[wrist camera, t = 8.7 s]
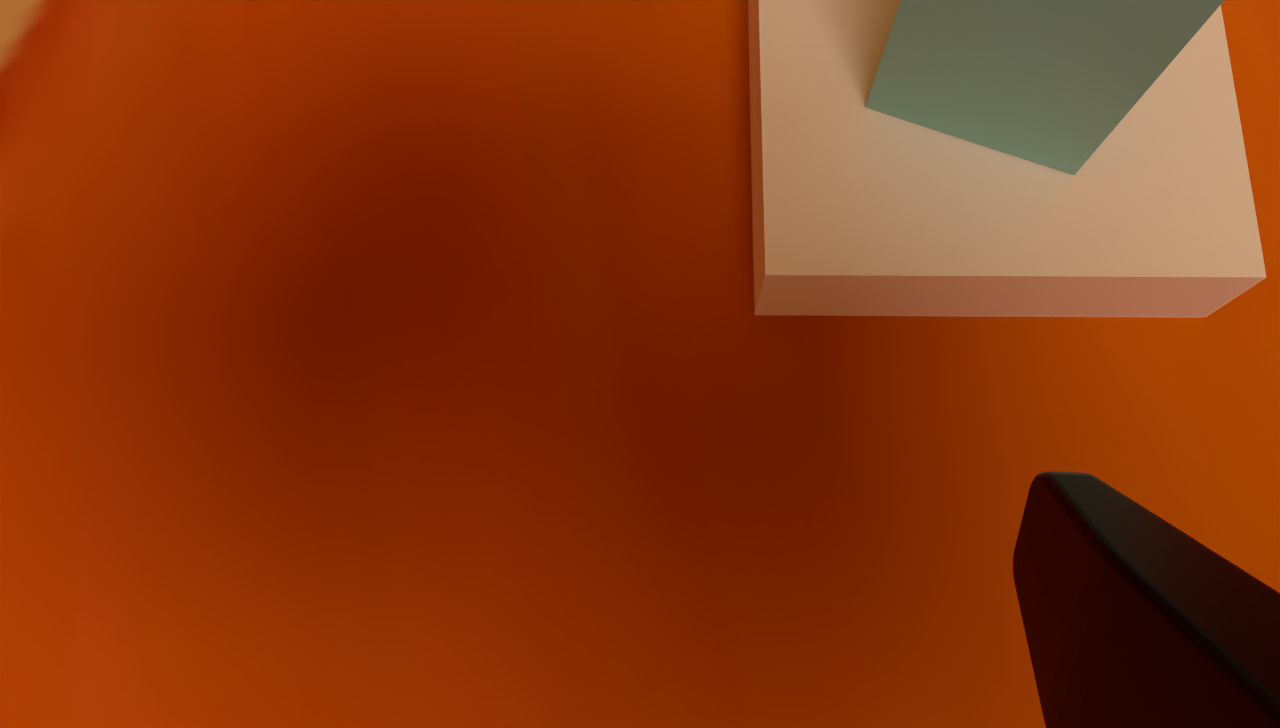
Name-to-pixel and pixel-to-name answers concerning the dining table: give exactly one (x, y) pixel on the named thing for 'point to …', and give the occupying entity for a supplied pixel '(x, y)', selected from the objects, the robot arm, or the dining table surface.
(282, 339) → the dining table surface
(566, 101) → the dining table surface
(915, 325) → the dining table surface
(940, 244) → the base plate
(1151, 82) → the tall block
